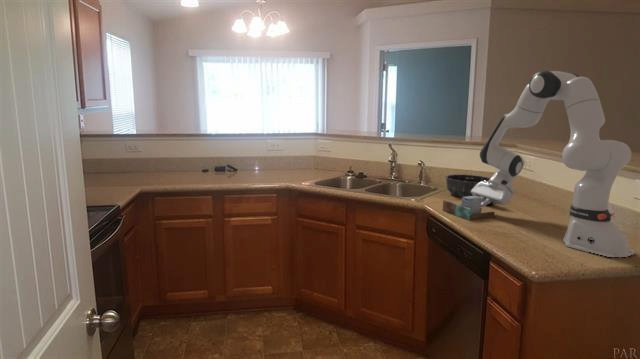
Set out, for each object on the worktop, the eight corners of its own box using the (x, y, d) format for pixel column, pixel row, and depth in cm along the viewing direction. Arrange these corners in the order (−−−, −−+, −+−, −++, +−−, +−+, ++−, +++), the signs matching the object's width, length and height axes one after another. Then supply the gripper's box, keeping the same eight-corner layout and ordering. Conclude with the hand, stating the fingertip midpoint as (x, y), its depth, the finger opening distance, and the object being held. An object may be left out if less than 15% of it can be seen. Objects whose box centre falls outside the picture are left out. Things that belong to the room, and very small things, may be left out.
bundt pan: (457, 188, 260) (458, 172, 259) (500, 195, 242) (502, 178, 241) (435, 194, 242) (437, 177, 240) (481, 202, 224) (482, 184, 222)
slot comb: (494, 216, 196) (495, 206, 195) (468, 220, 190) (469, 209, 189) (467, 207, 212) (468, 198, 211) (442, 210, 206) (443, 200, 205)
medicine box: (473, 213, 201) (475, 195, 200) (480, 215, 197) (482, 197, 196) (460, 214, 198) (461, 196, 197) (467, 217, 194) (468, 198, 193)
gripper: (478, 175, 208) (461, 197, 206) (512, 183, 189) (493, 206, 187) (485, 184, 210) (468, 205, 208) (518, 192, 192) (500, 215, 190)
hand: (480, 206), depth 198 cm, fingers closed
